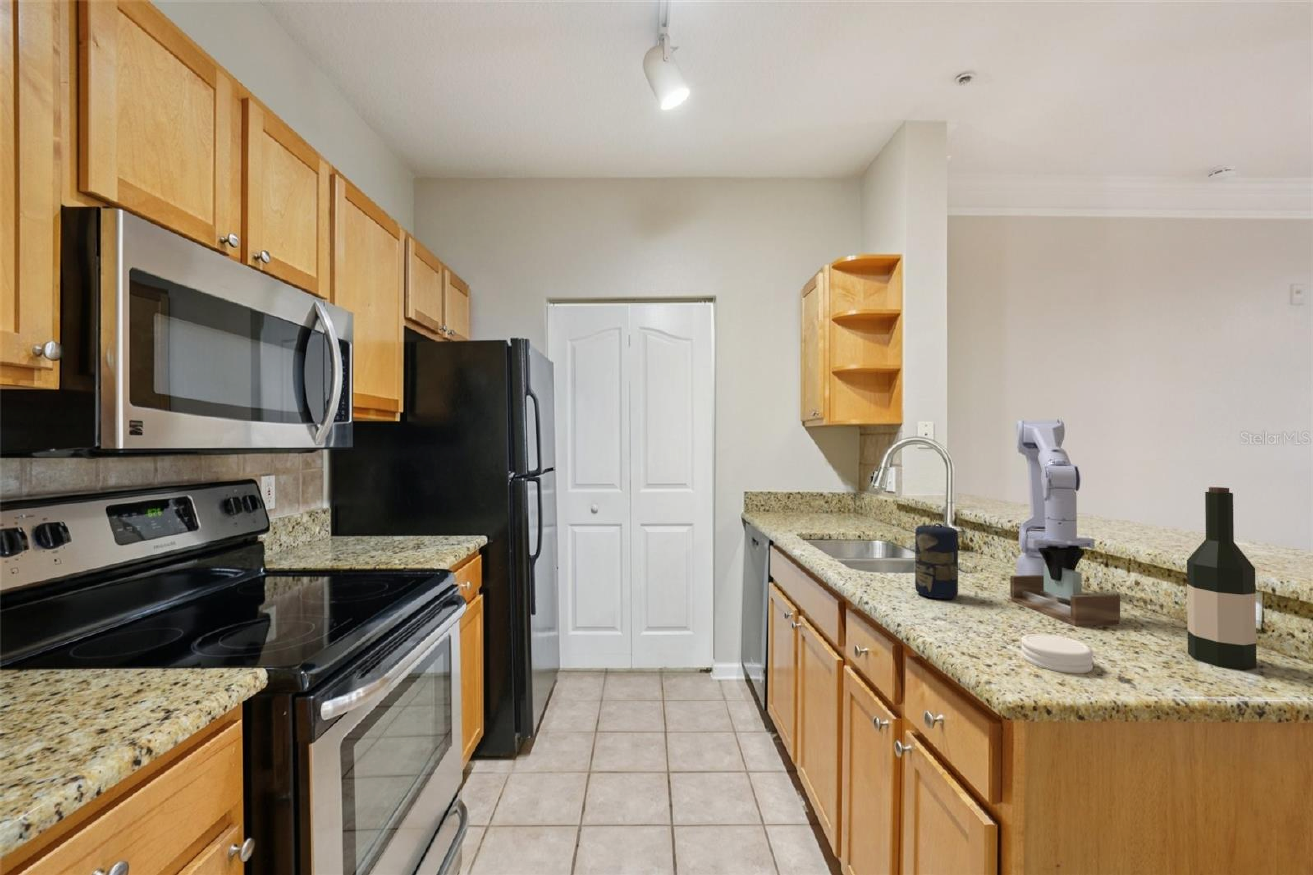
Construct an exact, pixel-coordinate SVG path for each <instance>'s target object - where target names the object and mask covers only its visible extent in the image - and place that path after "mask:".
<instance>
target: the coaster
mask: <svg viewBox="0 0 1313 875" xmlns="http://www.w3.org/2000/svg"><path fill="white" fill-rule="evenodd" d="M1020 641H1021V646H1020V648H1021V656H1022V658H1023V659H1024V660H1025V661H1026V662H1028V663H1029V664H1031V665H1034V666H1036V667H1039V668H1041V669H1042V668H1043V669H1046V670H1048V671H1049V670H1050V671H1053V672H1060V673H1067V674H1086V673H1090V672H1091V671H1092V670H1093V669H1094V666H1093V662H1094V660H1093V655H1094V652H1093V650H1092V648H1091V647H1090V646H1089V645H1087V644H1085V643H1084V642H1081V641H1078V640H1076V639H1072V638H1068V637H1065V636H1061V635H1054V634H1047V633H1028V634H1025V635H1024V636H1022V637H1021V639H1020Z"/></svg>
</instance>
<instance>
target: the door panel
mask: <svg viewBox="0 0 1313 875" xmlns="http://www.w3.org/2000/svg"><path fill="white" fill-rule="evenodd" d="M1082 575H1083V574H1082V572H1079V571H1076V570H1075V571H1073V570H1069V569H1066V568H1062V578H1061V581H1056V580H1053V579H1051V577H1050V573H1049V570H1048V567H1047V565H1044V591H1045V592H1048V593H1051V594H1054V595H1057V596H1060V597H1063V598H1066V599H1069V600H1071V598H1070V595H1083V593H1082V588H1083V587H1082V585H1083V584H1082V582H1083V580H1082V578H1083V577H1082Z"/></svg>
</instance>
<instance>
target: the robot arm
mask: <svg viewBox="0 0 1313 875" xmlns="http://www.w3.org/2000/svg"><path fill="white" fill-rule="evenodd" d="M1015 428H1016V429H1015V430H1016V431H1015V433H1016V435H1015V436H1016V437H1015V438H1016V448H1017V453H1019V454H1022V455H1023V456H1025V459H1026V462H1027V463H1026V464H1027V470H1028V473H1027V474H1028V485H1029V486H1028V489H1029V503H1030V504H1029V505H1030V517H1028V518H1026V519H1025V520H1023V521H1022V522H1020V524H1019V526H1018V527H1019V528H1018V529H1019V531H1018V546H1019V550H1020V551H1021V554H1020V555H1019V556H1018V557H1017V560H1016V576H1020V575H1044V565H1047V567H1048V570H1049V573H1050V577H1051V579H1053V580H1056V581H1061V578H1062V568H1066V569H1069V570H1073V571H1076V569H1077V566H1078V564H1079V562H1080V561H1081V559H1082V558H1083V556H1084V555H1085V549H1082V548H1093V549H1094V548H1095V543H1096V542H1095V538H1090V537H1079V536H1078V535H1077V534H1078V528H1077V527H1078V523H1077V522H1078V520H1077V516H1078V515H1077V504H1078V503H1077V500H1078V498H1077V497H1078V496H1077V492H1079V490H1080V487H1081V471H1080V468H1079V466H1078V465H1076V464H1075V463H1071V461H1070V459H1069V455H1068V453H1067V451H1066V450H1065V449H1064V448H1062V445H1063V441H1064V440H1065V431H1066V430H1065V423H1064V422H1063V420H1062V419H1060V418H1057V419H1038V420H1037V419H1029V420H1025V419H1024V420H1023V419H1020V420H1018V421H1017V422H1016V427H1015Z"/></svg>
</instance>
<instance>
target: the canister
mask: <svg viewBox="0 0 1313 875" xmlns="http://www.w3.org/2000/svg"><path fill="white" fill-rule="evenodd" d="M914 539H915V540H914V542H915V546H914V550H915V551H914V564H915V565H914V581H915V582H914V585H915V587H914V588H915V591H916V592H917V593H918V594H920V595H922V596H925V597H929V598H935V599H953V598H955V597H957V596H958V595H959V532H958V530H957V529H956V528H954V527H951V526H944V525H942V524H941V523H939V522H936V523H934V524H933V525H932V524H931V525H930V524H927V525H925V524H924V525H923V524H922V525H919V526H917V527H916V528H915V538H914Z"/></svg>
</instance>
